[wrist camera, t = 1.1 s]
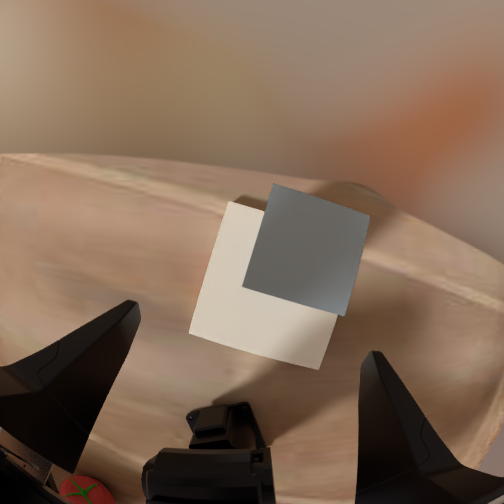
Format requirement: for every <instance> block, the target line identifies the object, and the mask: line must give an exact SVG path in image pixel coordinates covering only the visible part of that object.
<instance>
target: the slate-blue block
mask: <svg viewBox="0 0 504 504" xmlns="http://www.w3.org/2000/svg"><path fill="white" fill-rule="evenodd" d="M369 221H370V216H369V215H366V214H364V213H361V212H358V211H356V210H353V209H350V208H347V207H344V206H342V205H339V204H336V203H333V202H330V201H327V200H324V199H321V198H318V197H315V196H312V195H309V194H306V193H303V192H300V191H297V190H294V189H290V188H287V187H284V186H281V185H277V184H274V183H273V186H272V190H271V193H270V196H269V199H268V203H267V206H266V209H265V212H264V216H263V219H262V222H261V226H260V229H259V232H258V235H257V239H256V242H255V245H254V248H253V252H252V255H251V258H250V261H249V265H248V268H247V271H246V274H245V278H244V281H243V284H242V287H244V288H247V289H250V290H254V291H257V292H260V293H264V294H267V295H270V296H274V297H277V298H280V299H284V300H287V301H291V302H294V303H298V304H301V305H305V306H308V307H312V308H315V309H319V310H323V311H326V312H330V313H334V314H337V315H341V316H345V312H346V309H347V306H348V303H349V299H350V296H351V293H352V289H353V286H354V282H355V278H356V275H357V271H358V267H359V263H360V260H361V256H362V252H363V247H364V243H365V239H366V235H367V230H368V226H369Z"/></svg>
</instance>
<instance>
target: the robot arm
mask: <svg viewBox="0 0 504 504" xmlns="http://www.w3.org/2000/svg"><path fill="white" fill-rule="evenodd" d="M140 321H141V314H140V309H139V304H138V302H136V301H132V300H126V301H125V302H123V303H121V304H119V305H118V306H116V307H114V308H112V309H111V310H109V311H107V312H105V313H104V314H102V315H100V316H99V317H97V318H95V319H93V320H92V321H90V322H88V323H87V324H85V325H83V326H81V327H80V328H78V329H76V330H75V331H73V332H71V333H70V334H68V335H66V336H65V337H63V338H61V339H60V340H58V341H56V342H54V343H53V344H51V345H49V346H47V347H46V348H44V349H42V350H40V351H38V352H36V353H34V354H32V355H30V356H28V357H26V358H24V359H21V360H19V361H17V362H15V363H13V364H11V365H7V366H1V367H0V504H73V503H72V502H70V501H68V500H67V499H65V498H64V497H62V496H60V495H59V494H58V493H59V492H58V490H57V487H56V485H55V482H54V480H53V477H52V474H51V469H52V467H53V465H54V464H55V465H57V466H58V467H60V468H62V469H64V470H65V471H67V472H69V473H71V474H73V473H74V471H75V469H76V466H77V464H78V461H79V459H80V456H81V454H82V452H83V449H84V447H85V444H86V442H87V440H88V437H89V435H90V433H91V430H92V428H93V426H94V423H95V421H96V419H97V417H98V415H99V412H100V410H101V408H102V406H103V404H104V402H105V400H106V397H107V395H108V393H109V391H110V389H111V387H112V385H113V383H114V381H115V379H116V377H117V375H118V373H119V371H120V369H121V367H122V365H123V363H124V361H125V359H126V357H127V355H128V352H129V350H130V347H131V345H132V342H133V339H134V337H135V334H136V332H137V329H138V327H139V324H140ZM243 406H247V408H243ZM358 416H359V435H358V468H357V485H356V496H355V504H504V477H497V476H493V475H490V474H487V473H484V472H481V471H477V470H474V469H471V468H469V467H466V466H464V465H462V464H461V463H460V462H459V461H458V460H457V459H456V458H455V457H454V455H453V454H452V453H451V451H450V450H449V449H448V448H447V446H446V445H445V444H444V442H443V441H442V440H441V438H440V437H439V436H438V434H437V433H436V432H435V430H434V429H433V427H432V426H431V424H430V423H429V421H428V420H427V418H426V417H425V415H424V414H423V412H422V411H421V409H420V408H419V406H418V405H417V403H416V401H415V400H414V398H413V397H412V395H411V394H410V393H409V391H408V390H407V388H406V387H405V385H404V384H403V382H402V381H401V379H400V378H399V376H398V375H397V373H396V372H395V371H394V369H393V368H392V366H391V365H390V363H389V362H388V361H387V359H386V358H385V356H384V355H383V354H382V352H380V351H370V352H369V354H368V355H367V357H366V358H365V360H364V361H363V363H362V365H361V374H360V388H359V400H358ZM190 417H193V419H191V418H190ZM186 420H187V422H188V424H189V426H190V428H191V430H192V432H193V436H192V439H191V441H190V444H189V449H182V448H163V449H162V450H161V451H159V453H158V454H157V455H156V456H154V457H153V458H151V459H150V460H148V461H147V462H146V464H145V465H144V466H143V472H142V478H141V481H142V488H143V492H144V495H145V497H146V498H147V499H146V504H276V497H275V487H274V478H273V469H272V460H271V451H270V447H267V448H266V444H265V442H264V439H263V437H262V434H261V432H260V429H259V426H258V424H257V421H256V419H255V416H254V413H253V411H252V408H251V405H250V404H249V403H248V402H241V403H237V404H232V405H226V404H224V405H220V406H215V407H210V408H204V409H202V410H201V411H197V412H191V413H188V414H187V416H186ZM261 447H262V448H263V449H260V448H261Z"/></svg>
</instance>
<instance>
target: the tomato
mask: <svg viewBox="0 0 504 504" xmlns="http://www.w3.org/2000/svg"><path fill="white" fill-rule="evenodd" d="M59 495H60V496H62V497H64V498H65V499H67V500H68V501H70V502H72V503H73V504H115V501H114V498H113V496H112V493H111V492H109V491H108V490H107V489H106V488H105V487H104V486H103V485H102V483H101V482H99V481H97V480H95V479H93V478H91V477H88V476H82V475H77V476H71V477H69V478H67V479H66V480H65V481H63V482H62V485H61V488H60V492H59Z"/></svg>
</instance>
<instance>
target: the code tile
mask: <svg viewBox="0 0 504 504" xmlns="http://www.w3.org/2000/svg"><path fill="white" fill-rule="evenodd" d="M264 212H265V211H261V210H258V209H254V208H251V207H248V206H244V205H241V204H237V203H234V202H230V201H229V202H228V205H227V208H226V211H225V214H224V217H223V220H222V224H221V227H220V230H219V233H218V236H217V239H216V242H215V245H214V249H213V252H212V255H211V258H210V262H209V265H208V268H207V271H206V275H205V278H204V281H203V285H202V288H201V291H200V295H199V298H198V302H197V305H196V308H195V312H194V315H193V319H192V322H191V326H190V330H189V333H190V334H193V335H196V336H199V337H202V338H205V339H208V340H211V341H214V342H217V343H220V344H223V345H226V346H229V347H233V348H236V349H239V350H243V351H246V352H250V353H253V354H257V355H260V356H264V357H268V358H271V359H275V360H279V361H283V362H287V363H291V364H295V365H299V366H303V367H308V368H312V369H317V370H319V368H320V365H321V363H322V360H323V357H324V354H325V352H326V349H327V346H328V343H329V340H330V337H331V334H332V331H333V328H334V325H335V322H336V319H337V316H338V315H337V314H334V313H330V312H326V311H323V310H319V309H315V308H312V307H308V306H305V305H301V304H298V303H294V302H291V301H287V300H284V299H280V298H277V297H274V296H270V295H267V294H264V293H260V292H257V291H254V290H250V289H247V288H244V287H242V284H243V281H244V278H245V274H246V271H247V268H248V265H249V261H250V258H251V255H252V252H253V248H254V245H255V242H256V239H257V235H258V232H259V229H260V226H261V222H262V219H263V216H264Z"/></svg>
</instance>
